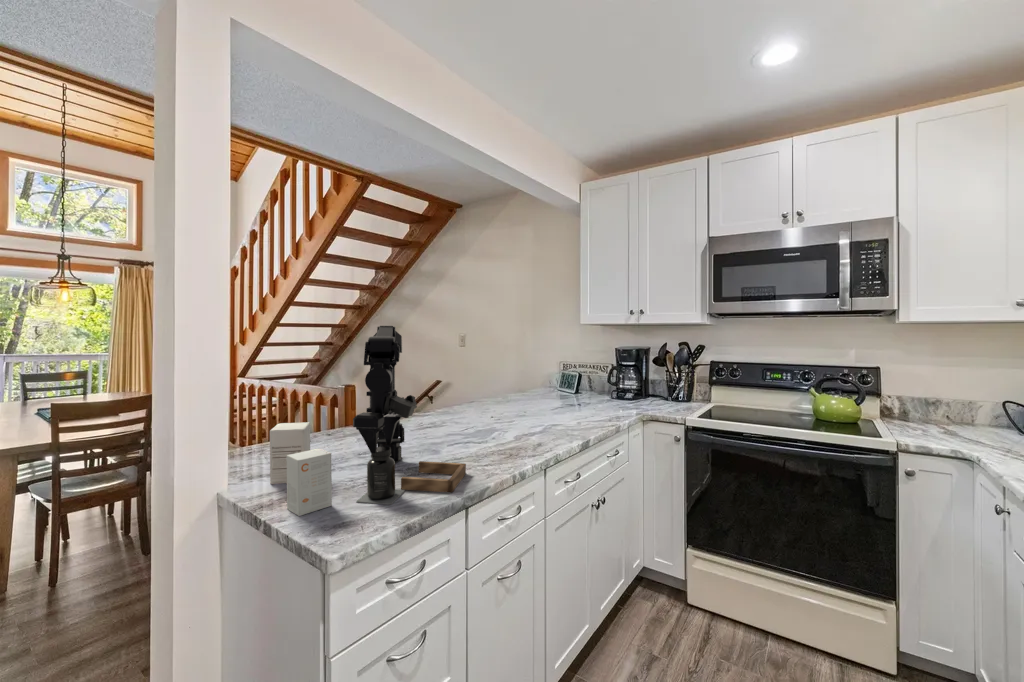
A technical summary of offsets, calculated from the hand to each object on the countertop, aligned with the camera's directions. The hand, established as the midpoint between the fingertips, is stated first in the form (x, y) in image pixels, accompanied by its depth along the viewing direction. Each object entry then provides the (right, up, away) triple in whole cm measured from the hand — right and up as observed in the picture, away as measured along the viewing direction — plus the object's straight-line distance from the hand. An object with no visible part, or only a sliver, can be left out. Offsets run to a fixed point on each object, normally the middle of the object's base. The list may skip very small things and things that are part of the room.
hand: (381, 448), depth 112 cm
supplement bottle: (0, -12, 0) cm, 12 cm away
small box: (-15, -13, -7) cm, 21 cm away
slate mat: (0, -12, +1) cm, 13 cm away
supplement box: (-30, -12, +14) cm, 35 cm away
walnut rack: (+11, -12, +12) cm, 21 cm away
